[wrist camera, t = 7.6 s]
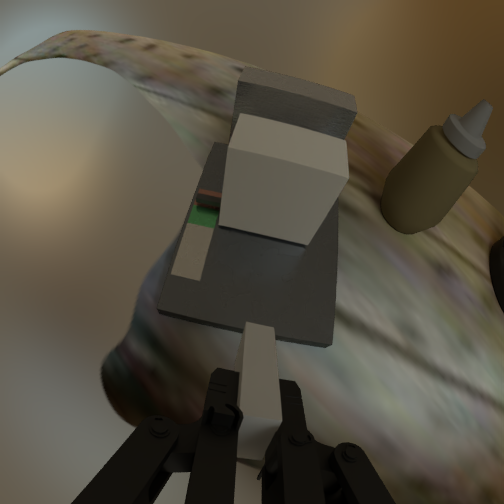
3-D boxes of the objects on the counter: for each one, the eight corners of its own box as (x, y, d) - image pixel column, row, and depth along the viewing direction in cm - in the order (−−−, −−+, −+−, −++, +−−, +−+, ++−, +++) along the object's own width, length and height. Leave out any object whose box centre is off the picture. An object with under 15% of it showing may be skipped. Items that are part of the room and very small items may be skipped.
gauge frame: (332, 180, 33) (373, 103, 23) (325, 347, 24) (405, 304, 14) (213, 151, 32) (223, 62, 22) (159, 313, 23) (128, 244, 13)
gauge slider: (311, 186, 30) (343, 119, 22) (307, 245, 26) (349, 178, 18) (210, 163, 29) (217, 87, 21) (190, 218, 26) (189, 140, 18)
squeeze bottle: (422, 255, 30) (528, 153, 15) (365, 222, 31) (459, 93, 15) (426, 207, 34) (507, 111, 19) (376, 177, 35) (447, 65, 19)
